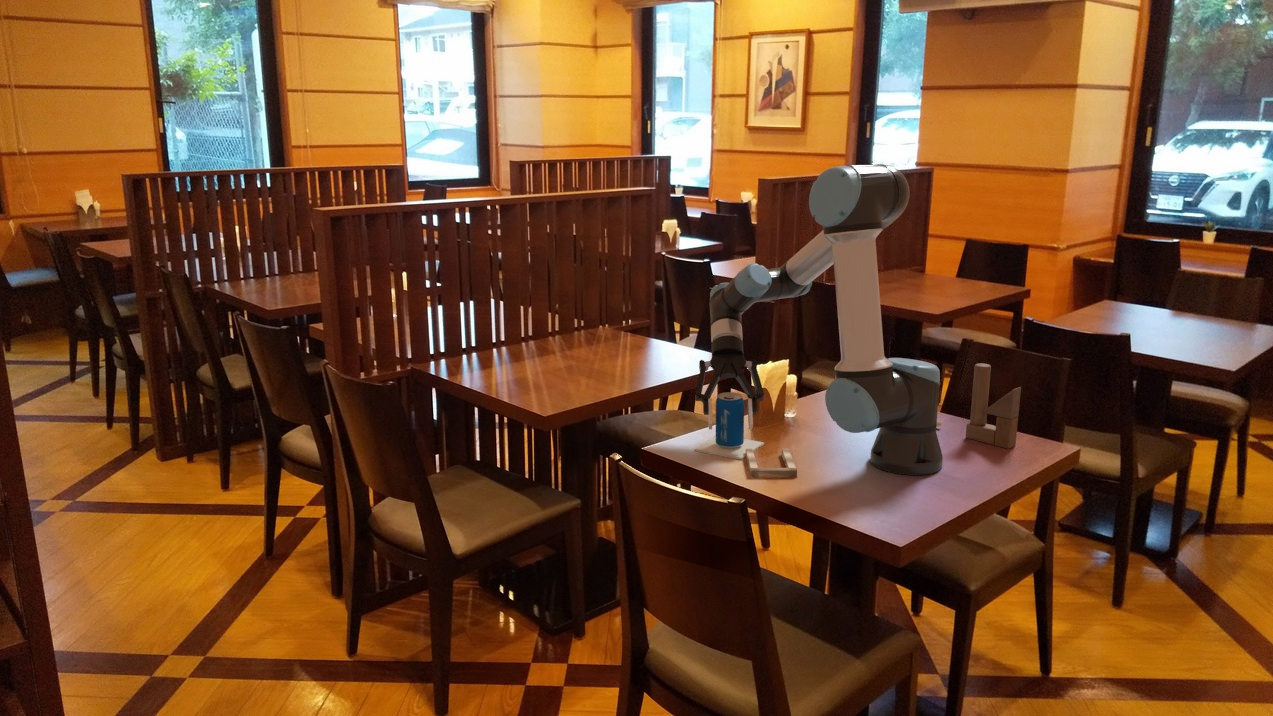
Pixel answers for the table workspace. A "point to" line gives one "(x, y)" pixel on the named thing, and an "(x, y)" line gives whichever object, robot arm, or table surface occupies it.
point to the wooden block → (992, 412)
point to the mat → (735, 453)
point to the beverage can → (729, 420)
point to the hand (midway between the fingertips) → (730, 426)
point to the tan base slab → (772, 472)
